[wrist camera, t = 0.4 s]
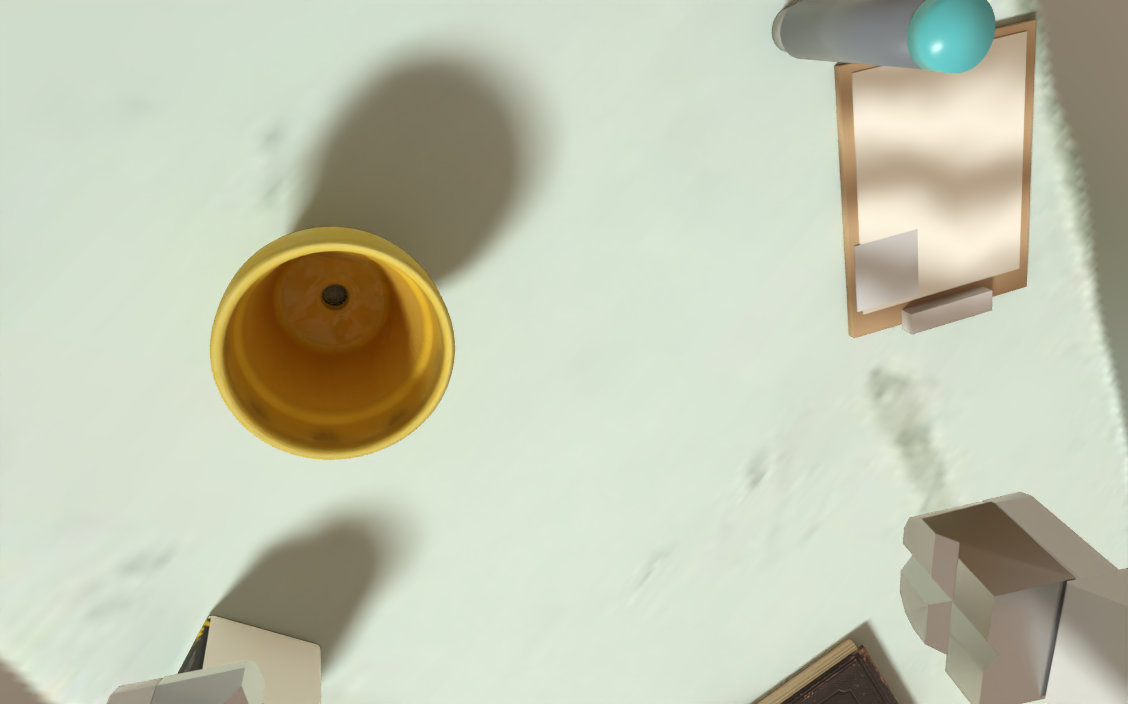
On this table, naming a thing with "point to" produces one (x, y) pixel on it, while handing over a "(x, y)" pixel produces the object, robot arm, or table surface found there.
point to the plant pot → (331, 344)
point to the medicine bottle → (261, 659)
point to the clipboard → (935, 185)
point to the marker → (888, 32)
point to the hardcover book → (836, 681)
